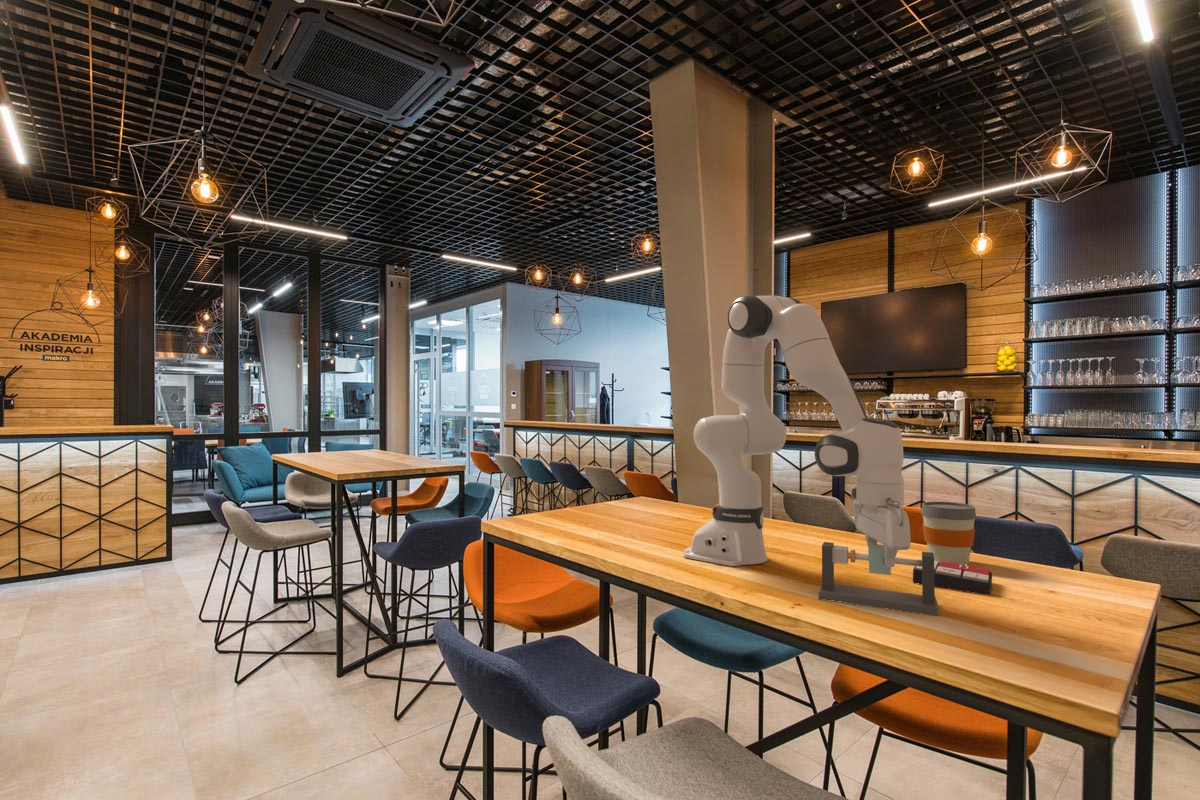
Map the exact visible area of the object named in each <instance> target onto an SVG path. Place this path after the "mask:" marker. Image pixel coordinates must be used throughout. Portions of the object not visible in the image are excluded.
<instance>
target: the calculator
mask: <svg viewBox="0 0 1200 800" xmlns="http://www.w3.org/2000/svg"><path fill="white" fill-rule="evenodd" d="M918 560H922V558H920V559H918ZM913 582H914V583H913ZM992 582H993V572H992V571H990V569H988V568H986V569H985V568H982V567H976V566H970V565H967V566H965V565H960V564H954V563H949V562H943V561H940V563H938V561H934V585H935V587H938V586H939V587H938V588H943V587H945V589H948V588H950V589H949V590H954V589H956V591H960V590H962V591H961V592H966V591H969V592H968V593H972V592H974V593H973V594H978V595H979V594H980V595H985V596H986V595H987V596H990V595H991V592H992V584H993V583H992ZM912 583H913V584H915V583H919V584H918V585H921V584H922V566H914V567H913V569H912Z"/></svg>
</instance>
